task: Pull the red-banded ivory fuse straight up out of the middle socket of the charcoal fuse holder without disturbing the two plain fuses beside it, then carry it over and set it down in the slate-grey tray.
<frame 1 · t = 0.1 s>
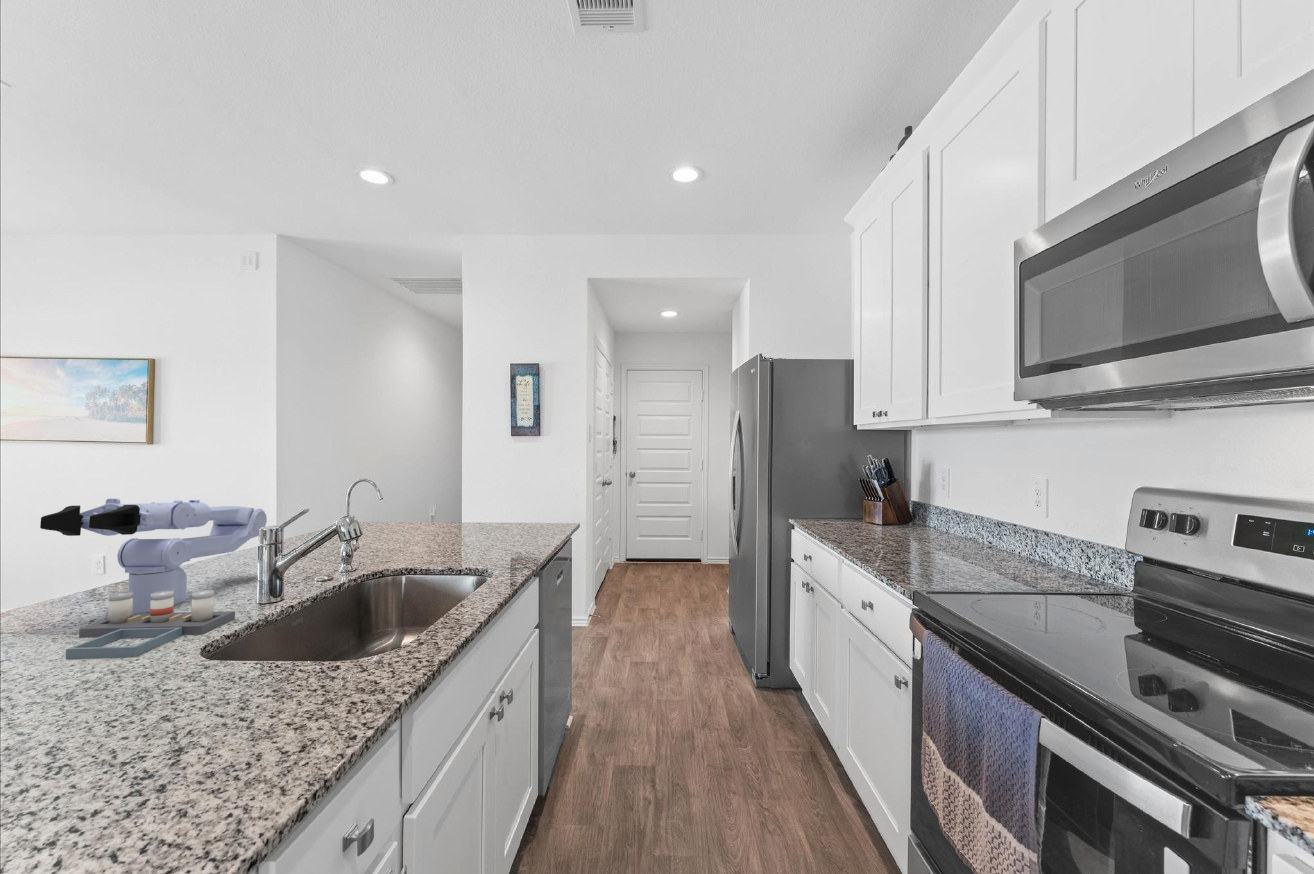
hand: (67, 522, 96), 21 cm above the countertop, tool horizontal, fingers open, 7 cm apart
fuse 2: (201, 626, 102), point 1 cm above the countertop, touching fuse holder
tray: (127, 652, 92), on the countertop
marked fuse: (161, 627, 102), point 1 cm above the countertop, touching fuse holder
fuse 1: (119, 628, 101), point 1 cm above the countertop, touching fuse holder
fuse holder: (161, 633, 102), on the countertop
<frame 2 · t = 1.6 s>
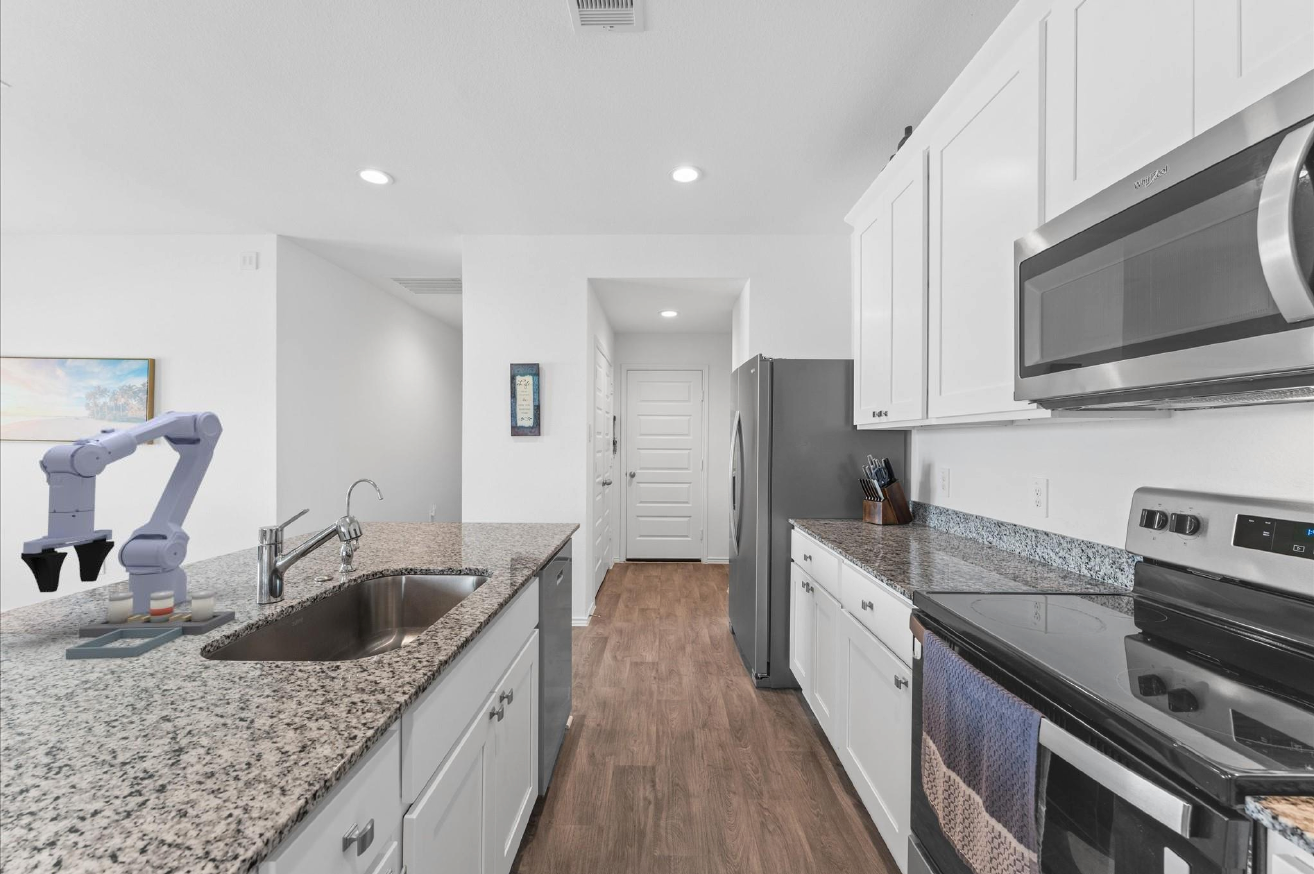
hand: (69, 586, 98), 9 cm above the countertop, tool pointing down, fingers open, 7 cm apart
nothing on the countertop moved.
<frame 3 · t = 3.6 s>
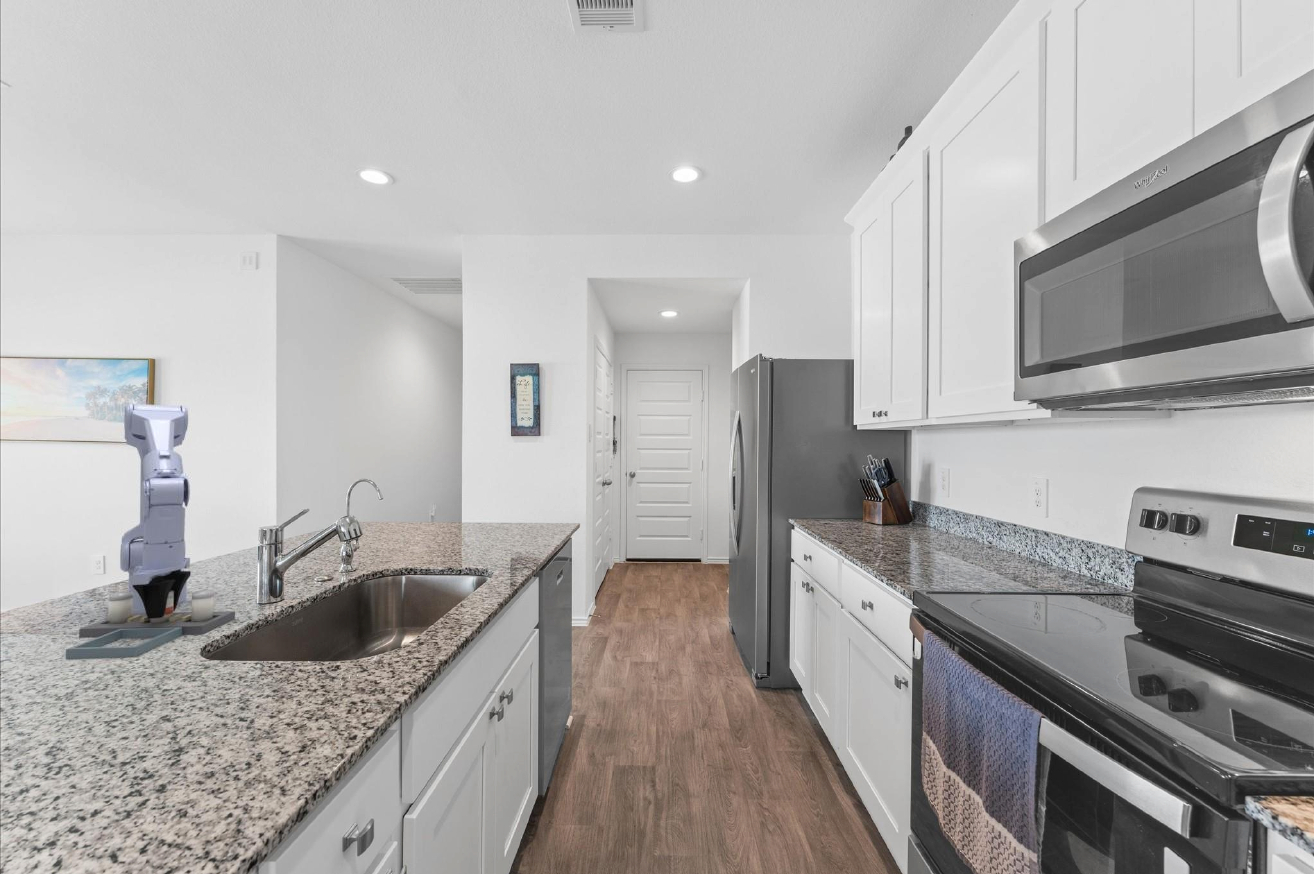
hand: (161, 614, 102), 3 cm above the countertop, tool pointing down, fingers closed on marked fuse, 3 cm apart
marked fuse: (161, 627, 102), point 1 cm above the countertop, touching fuse holder, gripper
everything else where it was.
when the fingers open (5 cm above the countertop, at t = 7.7 s): marked fuse drops 2 cm, resting on tray.
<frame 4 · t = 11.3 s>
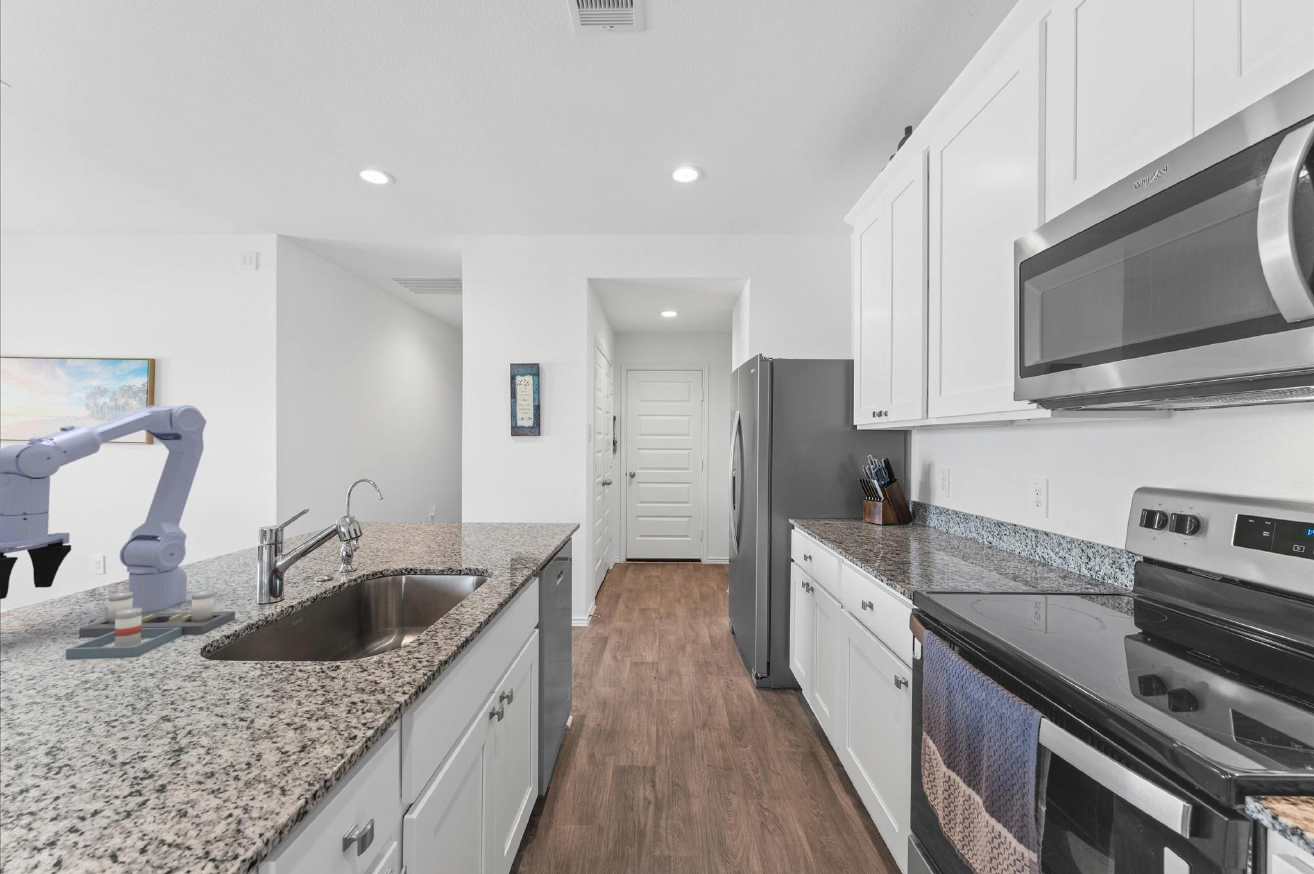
hand: (21, 592, 94), 9 cm above the countertop, tool pointing down, fingers open, 7 cm apart
marked fuse: (127, 648, 92), point 1 cm above the countertop, touching tray
everything else where it was.
at the end: marked fuse inside the target area on the tray (0.0 cm from its centre), point 0.6 cm above the tray's base; fuse 1 moved 0.0 cm from its start; fuse 2 moved 0.0 cm from its start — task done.
